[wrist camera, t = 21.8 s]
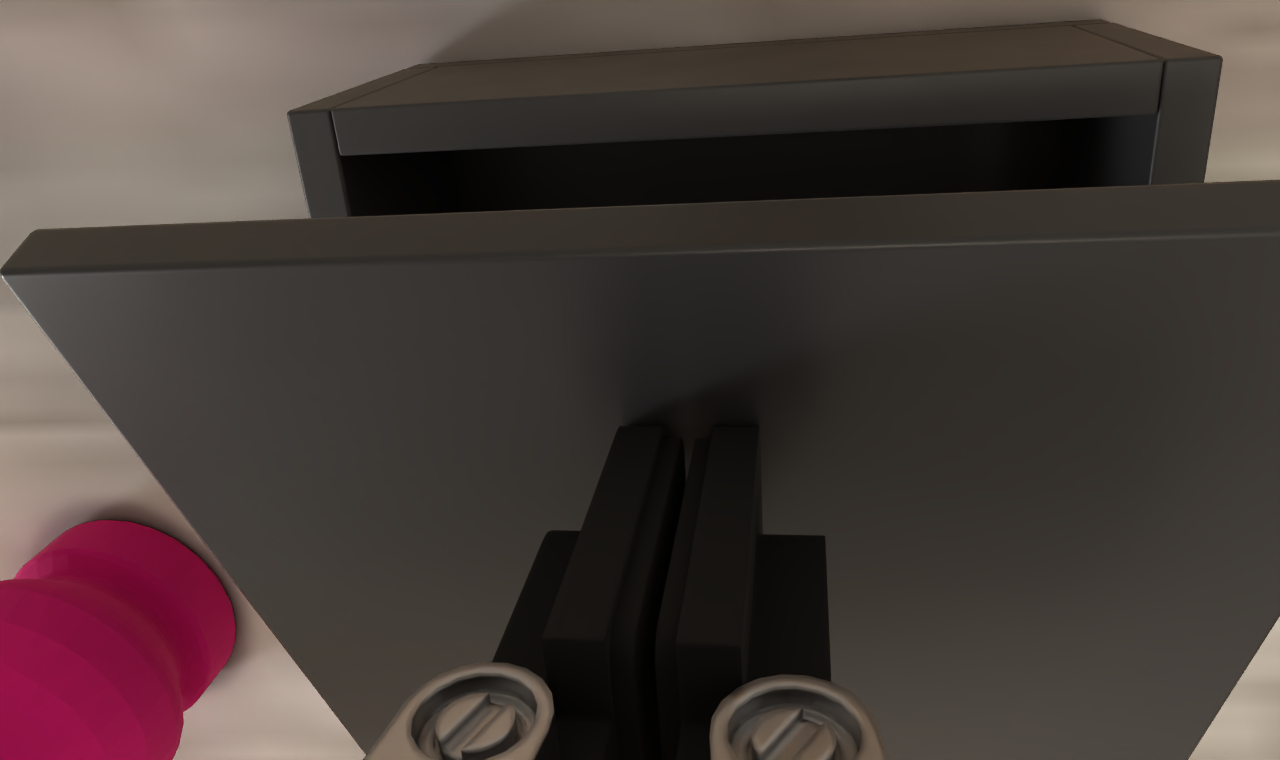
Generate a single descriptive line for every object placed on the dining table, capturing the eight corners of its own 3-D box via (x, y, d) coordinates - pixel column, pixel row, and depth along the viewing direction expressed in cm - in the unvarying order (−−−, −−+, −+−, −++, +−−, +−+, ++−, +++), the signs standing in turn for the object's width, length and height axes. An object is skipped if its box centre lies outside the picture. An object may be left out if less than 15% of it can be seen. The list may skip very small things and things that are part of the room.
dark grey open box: (415, 64, 22) (284, 111, 17) (1104, 18, 20) (1225, 55, 14) (506, 626, 29) (434, 798, 23) (1038, 642, 26) (1103, 840, 21)
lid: (32, 226, 11) (-7, 271, 11) (1490, 167, 9) (1536, 223, 8) (431, 796, 23) (422, 832, 22) (1105, 837, 20) (1114, 878, 20)
